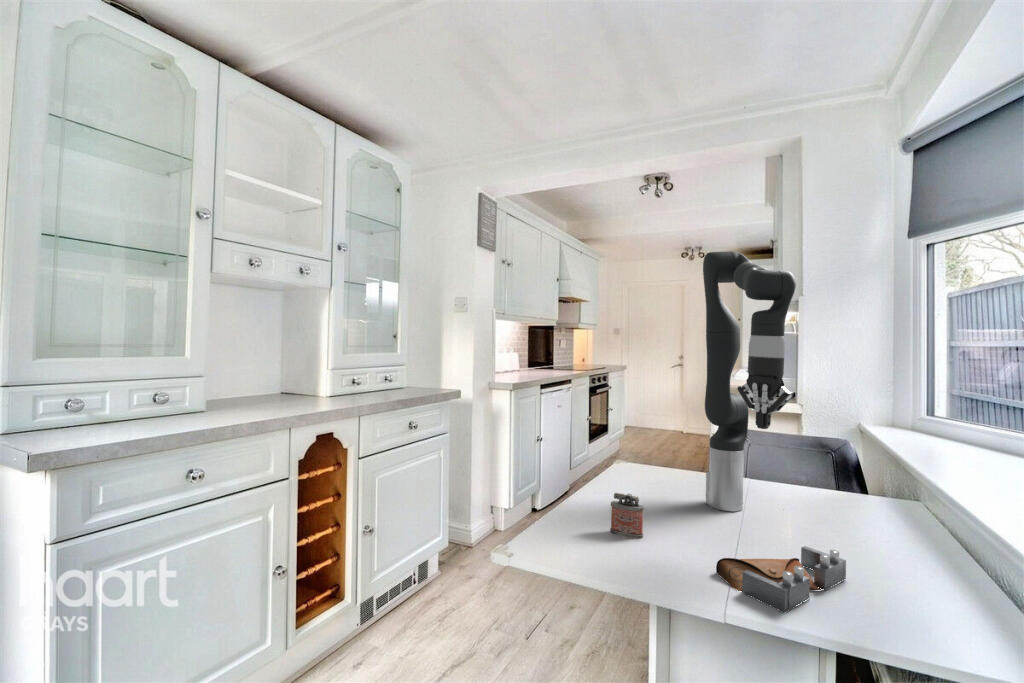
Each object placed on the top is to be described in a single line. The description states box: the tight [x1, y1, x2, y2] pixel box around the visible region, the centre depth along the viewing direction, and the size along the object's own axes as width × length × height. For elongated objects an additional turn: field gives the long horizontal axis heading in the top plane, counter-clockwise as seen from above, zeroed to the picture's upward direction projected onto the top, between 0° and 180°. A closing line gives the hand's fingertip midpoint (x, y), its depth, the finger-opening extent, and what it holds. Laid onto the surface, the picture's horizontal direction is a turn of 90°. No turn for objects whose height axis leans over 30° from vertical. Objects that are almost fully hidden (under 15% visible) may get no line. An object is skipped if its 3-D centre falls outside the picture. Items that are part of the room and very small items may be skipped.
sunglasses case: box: [715, 557, 821, 591], centre depth 97 cm, size 18×7×7 cm, turn 94°
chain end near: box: [741, 566, 811, 613], centre depth 91 cm, size 8×9×6 cm
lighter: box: [609, 492, 645, 540], centre depth 120 cm, size 8×3×10 cm, turn 65°
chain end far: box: [800, 545, 847, 591], centre depth 99 cm, size 8×9×6 cm
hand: (762, 428), depth 114 cm, fingers closed
